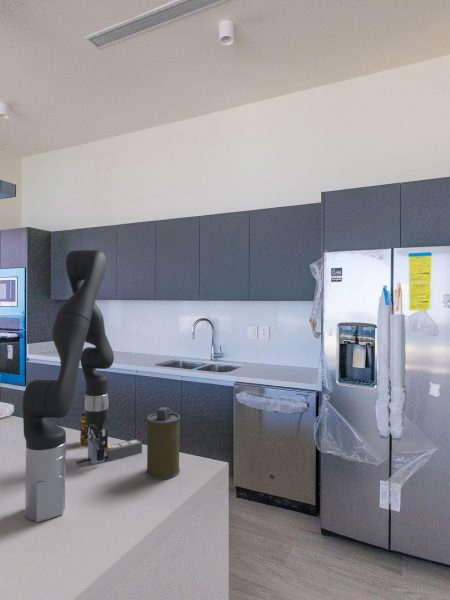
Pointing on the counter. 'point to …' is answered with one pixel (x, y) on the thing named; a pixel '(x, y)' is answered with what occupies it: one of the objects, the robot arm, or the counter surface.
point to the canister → (163, 444)
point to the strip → (123, 449)
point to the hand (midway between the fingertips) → (96, 455)
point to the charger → (92, 453)
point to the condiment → (83, 433)
